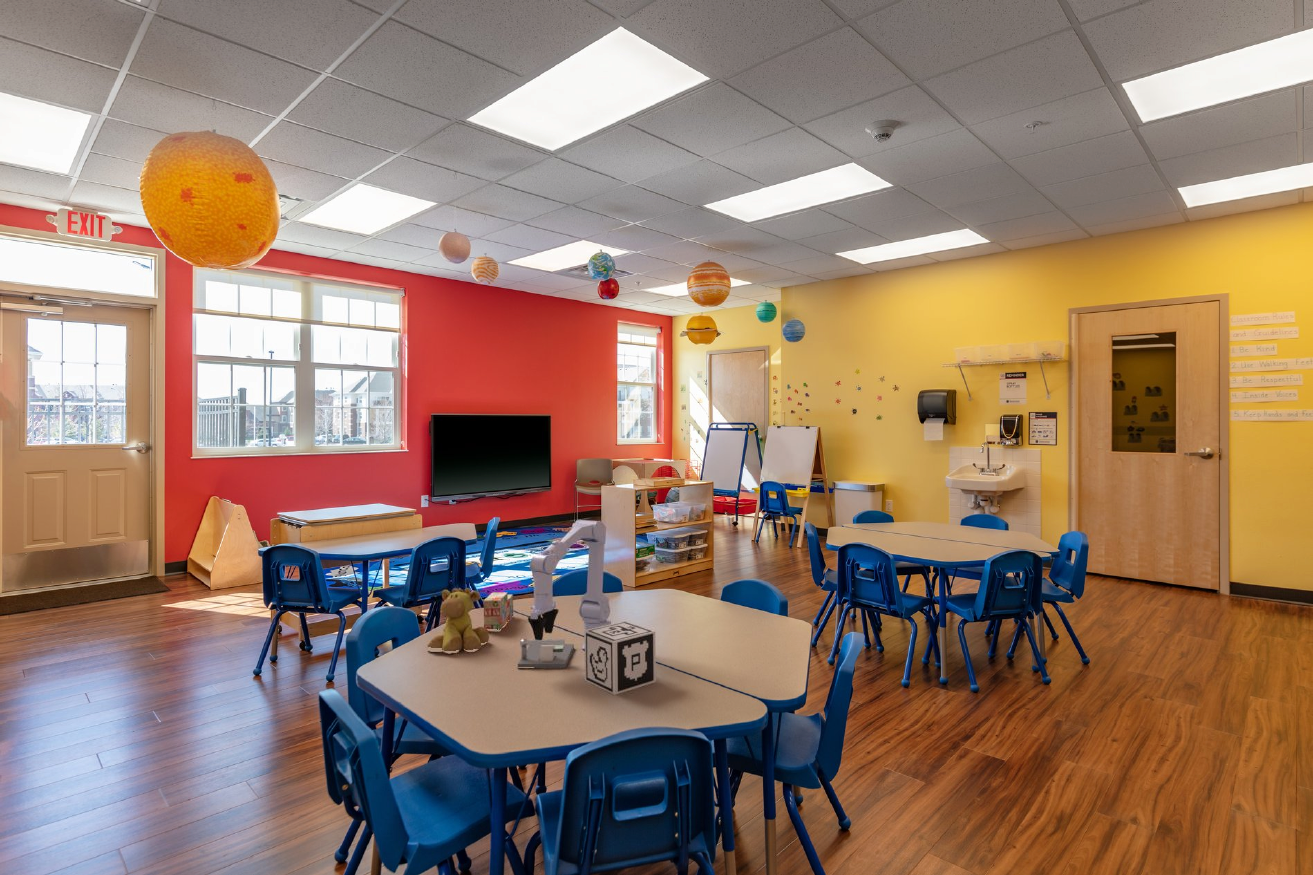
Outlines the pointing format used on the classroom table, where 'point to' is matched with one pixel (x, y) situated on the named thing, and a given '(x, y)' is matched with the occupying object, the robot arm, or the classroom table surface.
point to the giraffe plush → (459, 623)
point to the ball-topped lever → (542, 642)
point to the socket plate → (533, 660)
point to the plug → (548, 652)
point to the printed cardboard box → (497, 610)
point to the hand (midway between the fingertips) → (543, 636)
